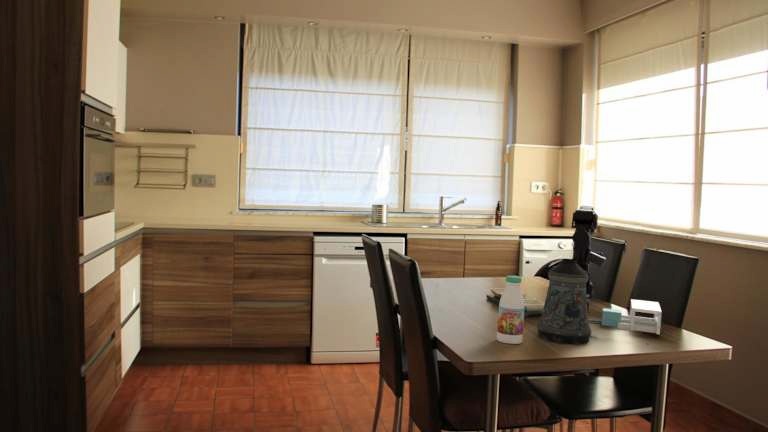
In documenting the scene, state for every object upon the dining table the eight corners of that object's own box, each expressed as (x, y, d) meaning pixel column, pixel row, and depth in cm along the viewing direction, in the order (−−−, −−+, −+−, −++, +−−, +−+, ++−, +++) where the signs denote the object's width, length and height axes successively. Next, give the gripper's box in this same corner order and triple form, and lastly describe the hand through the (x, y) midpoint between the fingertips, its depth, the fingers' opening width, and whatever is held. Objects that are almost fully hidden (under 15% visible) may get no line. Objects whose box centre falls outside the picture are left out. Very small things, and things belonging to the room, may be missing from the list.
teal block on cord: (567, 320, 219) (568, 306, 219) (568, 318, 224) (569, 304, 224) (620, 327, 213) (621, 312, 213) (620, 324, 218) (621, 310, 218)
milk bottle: (493, 337, 196) (498, 273, 194) (518, 338, 196) (522, 274, 195) (500, 344, 188) (504, 278, 187) (525, 345, 189) (530, 279, 187)
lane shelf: (592, 329, 214) (594, 303, 213) (594, 319, 231) (595, 295, 230) (659, 338, 207) (661, 311, 206) (656, 327, 223) (658, 302, 223)
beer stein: (553, 345, 190) (559, 263, 188) (523, 329, 209) (528, 254, 207) (601, 344, 194) (607, 264, 193) (567, 329, 213) (572, 255, 211)
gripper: (605, 248, 215) (601, 293, 216) (605, 244, 233) (602, 286, 234) (571, 245, 219) (568, 290, 220) (574, 241, 237) (571, 282, 238)
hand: (578, 287), depth 228 cm, fingers open, 9 cm apart
